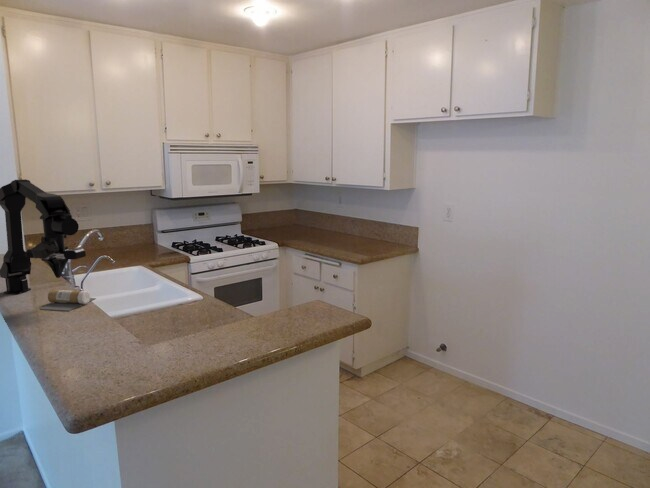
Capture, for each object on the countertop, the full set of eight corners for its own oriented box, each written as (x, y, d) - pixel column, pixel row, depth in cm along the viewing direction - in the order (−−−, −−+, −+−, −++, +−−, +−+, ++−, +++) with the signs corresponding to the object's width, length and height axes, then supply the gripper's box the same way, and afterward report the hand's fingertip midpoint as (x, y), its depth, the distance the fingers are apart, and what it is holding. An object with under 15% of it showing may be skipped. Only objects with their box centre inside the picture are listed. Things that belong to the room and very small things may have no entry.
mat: (39, 309, 156) (39, 308, 156) (68, 297, 169) (68, 296, 169) (69, 311, 154) (69, 310, 154) (95, 299, 168) (95, 298, 168)
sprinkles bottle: (52, 305, 163) (87, 306, 161) (44, 297, 160) (80, 299, 158) (58, 294, 166) (92, 295, 164) (51, 286, 163) (86, 288, 161)
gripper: (10, 236, 151) (15, 282, 154) (61, 237, 148) (66, 284, 151) (36, 231, 162) (40, 274, 165) (84, 232, 159) (88, 276, 162)
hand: (58, 277), depth 160 cm, fingers closed
